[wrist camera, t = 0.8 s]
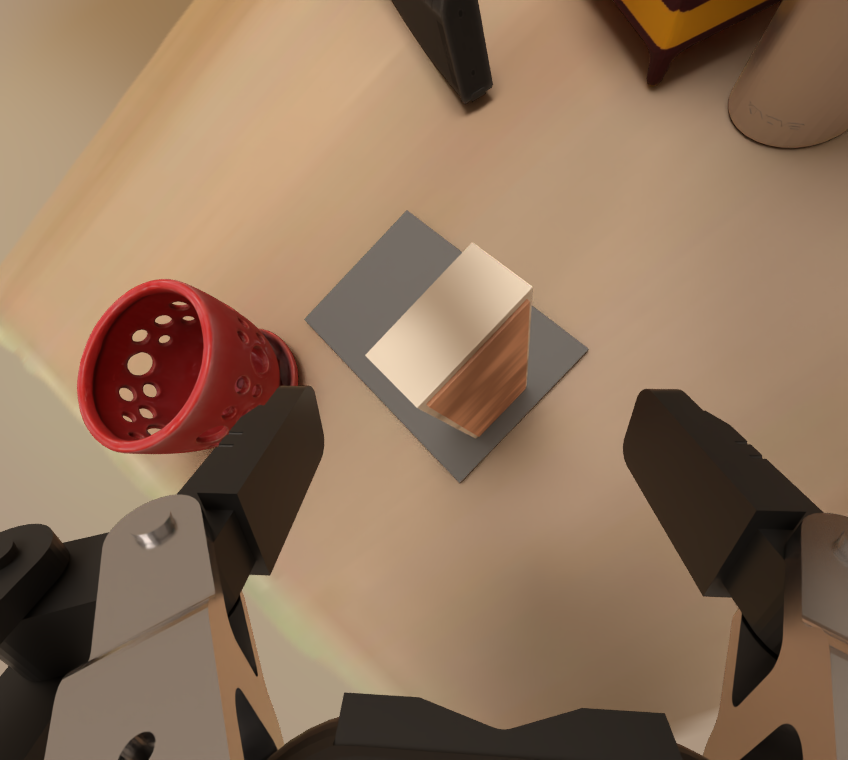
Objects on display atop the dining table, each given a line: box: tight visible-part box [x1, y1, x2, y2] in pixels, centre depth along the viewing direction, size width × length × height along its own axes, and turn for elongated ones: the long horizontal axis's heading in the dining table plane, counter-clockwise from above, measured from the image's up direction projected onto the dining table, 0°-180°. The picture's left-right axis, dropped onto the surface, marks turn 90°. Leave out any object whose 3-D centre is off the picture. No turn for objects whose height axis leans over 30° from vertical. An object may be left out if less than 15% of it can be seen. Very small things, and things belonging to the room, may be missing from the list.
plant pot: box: [77, 279, 298, 454], centre depth 32 cm, size 13×13×12 cm
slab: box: [365, 242, 533, 439], centre depth 22 cm, size 6×3×18 cm, turn 134°
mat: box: [304, 211, 588, 483], centre depth 34 cm, size 15×22×1 cm
